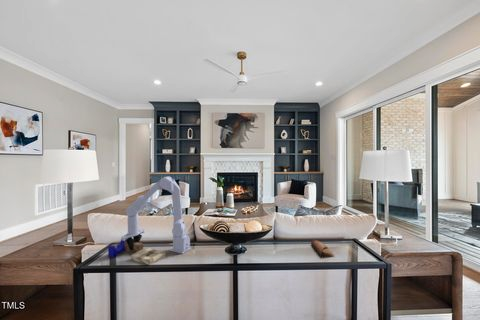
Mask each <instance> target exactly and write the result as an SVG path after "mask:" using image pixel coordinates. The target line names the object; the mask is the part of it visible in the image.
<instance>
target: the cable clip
mask: <svg viewBox="0 0 480 320" xmlns="http://www.w3.org/2000/svg"><path fill="white" fill-rule="evenodd" d="M124 242H125V241H122V240H121V239H120V242H119V244H116V246H115V245H108V246H107V251H108V252H107V253H108V254H107V255H108V258H114V257H116V256H118V255H119V254H121V253H123V252H124V251H126V250H125V247H124Z"/></svg>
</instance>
